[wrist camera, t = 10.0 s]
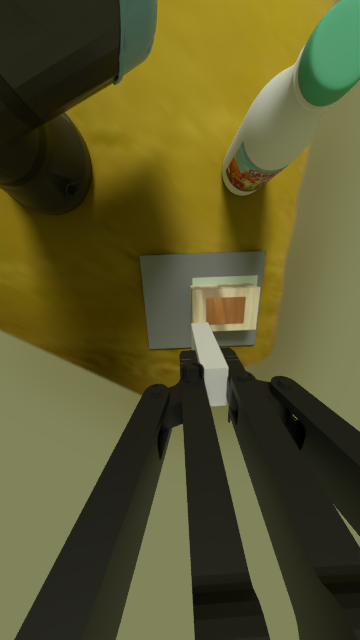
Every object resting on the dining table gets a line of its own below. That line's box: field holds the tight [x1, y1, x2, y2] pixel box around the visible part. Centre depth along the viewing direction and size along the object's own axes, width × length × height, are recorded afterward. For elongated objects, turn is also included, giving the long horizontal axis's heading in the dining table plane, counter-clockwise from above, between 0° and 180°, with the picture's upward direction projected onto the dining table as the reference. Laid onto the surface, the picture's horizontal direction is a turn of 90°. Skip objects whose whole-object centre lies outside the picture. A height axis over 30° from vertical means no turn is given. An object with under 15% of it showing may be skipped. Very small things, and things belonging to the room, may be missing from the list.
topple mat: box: [139, 251, 266, 349], centre depth 39 cm, size 24×20×1 cm
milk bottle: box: [222, 0, 360, 196], centre depth 22 cm, size 8×8×20 cm
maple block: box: [190, 283, 260, 331], centre depth 36 cm, size 5×8×12 cm
